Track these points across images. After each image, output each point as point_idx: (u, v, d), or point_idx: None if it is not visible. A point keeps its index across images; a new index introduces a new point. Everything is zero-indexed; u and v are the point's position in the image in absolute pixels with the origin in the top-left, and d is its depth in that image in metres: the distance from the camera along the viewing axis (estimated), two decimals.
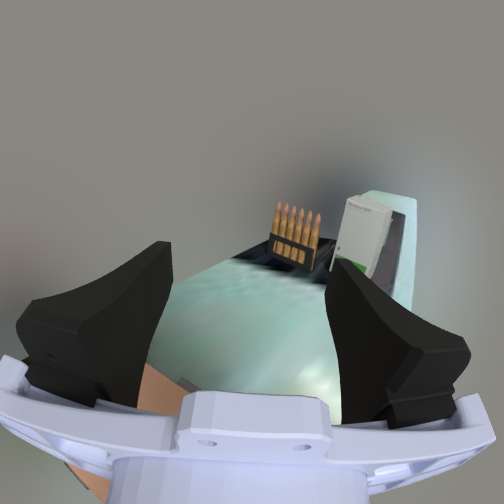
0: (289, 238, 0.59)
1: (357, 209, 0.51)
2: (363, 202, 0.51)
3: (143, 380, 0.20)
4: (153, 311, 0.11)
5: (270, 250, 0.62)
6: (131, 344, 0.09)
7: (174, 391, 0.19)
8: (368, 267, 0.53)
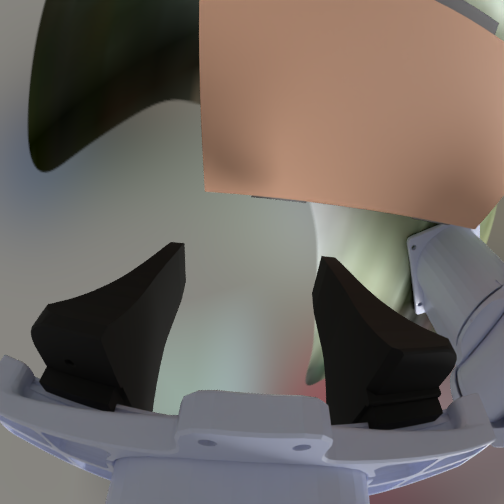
0: None
1: None
2: None
3: None
4: (168, 313, 0.11)
5: None
6: (148, 347, 0.09)
7: None
8: None
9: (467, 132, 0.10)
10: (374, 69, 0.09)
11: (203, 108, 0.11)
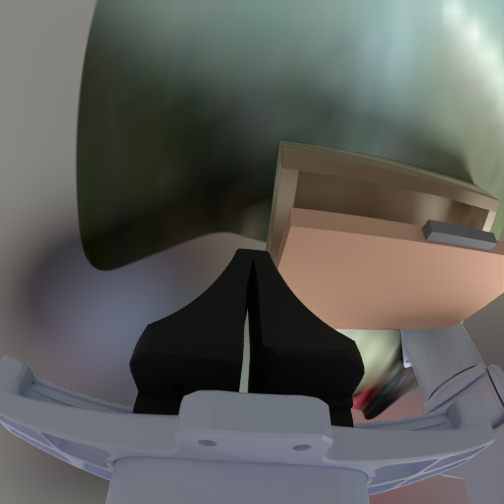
0: None
1: None
2: None
3: (370, 253, 0.13)
4: None
5: None
6: None
7: (424, 250, 0.12)
8: None
9: (450, 296, 0.16)
10: (392, 282, 0.15)
11: None
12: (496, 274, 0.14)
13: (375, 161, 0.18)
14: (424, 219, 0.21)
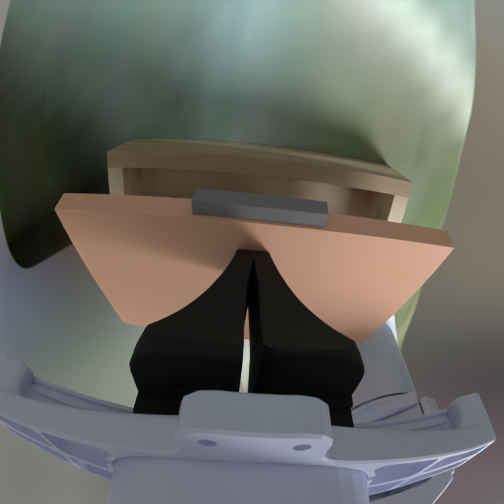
0: None
1: None
2: None
3: (139, 234, 0.12)
4: None
5: None
6: None
7: (199, 227, 0.11)
8: None
9: (312, 299, 0.15)
10: (202, 275, 0.14)
11: (102, 288, 0.16)
12: (370, 267, 0.13)
13: (219, 147, 0.17)
14: None
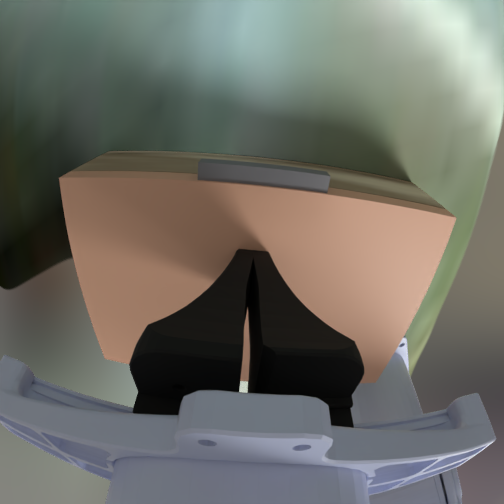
0: None
1: None
2: None
3: (139, 208, 0.11)
4: None
5: None
6: None
7: (202, 195, 0.11)
8: None
9: (320, 304, 0.14)
10: (199, 268, 0.13)
11: (86, 299, 0.14)
12: (378, 248, 0.12)
13: None
14: None
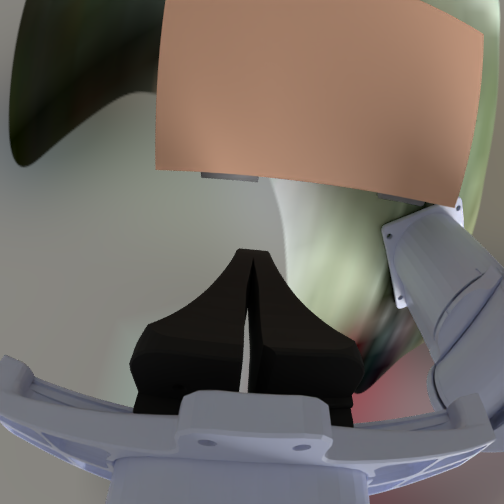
0: None
1: None
2: None
3: None
4: None
5: None
6: None
7: None
8: None
9: (402, 77, 0.12)
10: (298, 27, 0.11)
11: (160, 75, 0.12)
12: (436, 37, 0.10)
13: None
14: None
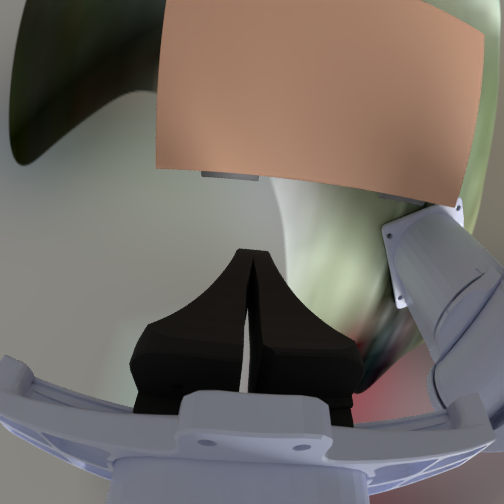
0: None
1: None
2: None
3: None
4: None
5: None
6: None
7: None
8: None
9: (402, 77, 0.12)
10: (299, 27, 0.11)
11: (160, 73, 0.12)
12: (437, 37, 0.10)
13: None
14: None
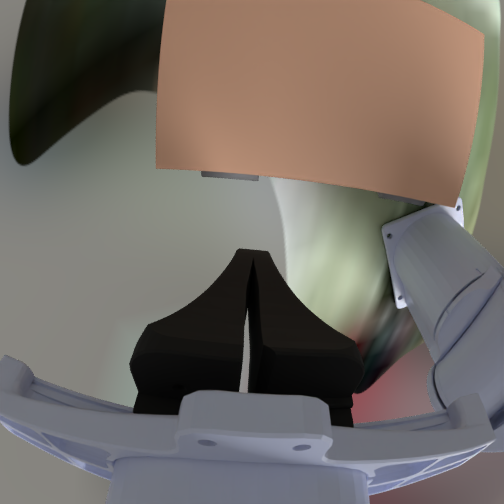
0: None
1: None
2: None
3: None
4: None
5: None
6: None
7: None
8: None
9: (402, 77, 0.12)
10: (299, 27, 0.11)
11: (160, 73, 0.12)
12: (437, 37, 0.10)
13: None
14: None
